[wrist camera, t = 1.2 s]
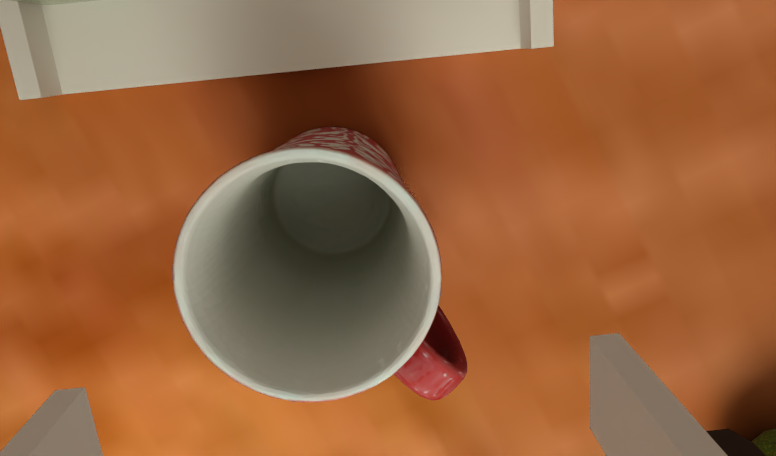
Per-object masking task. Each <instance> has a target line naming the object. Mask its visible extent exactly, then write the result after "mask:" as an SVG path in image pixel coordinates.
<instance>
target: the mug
mask: <svg viewBox="0 0 776 456" xmlns="http://www.w3.org/2000/svg"><path fill="white" fill-rule="evenodd" d="M172 280H173V285H174V294H175V298H176V303H177V306H178V309H179V312H180V315H181V318H182V320H183V323H184V325H185V327H186V329H187V330H188V332H189V334H190V336H191V338H192V339H193V341H194V342H195V343H196V345H197V346H198V347H199V349H200V350H201V351H202V352H203V354H204V355H205V356H206V357H207V358H208V359H209V360H210V361H211V362H212V363H213V364H214V365H215V366H216V367H217V368H218V369H220V370H221V371H222V372H223V373H225V374H226V375H227V376H229V377H230V378H232V379H233V380H235V381H236V382H238V383H240V384H242V385H243V386H245V387H247V388H250V389H252V390H254V391H256V392H259V393H261V394H264V395H267V396H270V397H273V398H278V399H283V400H288V401H292V402H325V401H332V400H338V399H342V398H346V397H350V396H353V395H355V394H358V393H361V392H363V391H365V390H367V389H370V388H372V387H374V386H376V385H378V384H379V383H381V382H383V381H384V380H386V379H387V378H389V377H390V376H391V375H393V374H394V375H395V376H396V377H397V378H398V379H400V380H401V381H402V383H404V384H405V385H406V386H407V387H408V388H410V389H411V390H412V391H414V392H415V393H417V394H418V395H420V396H422V397H424V398H426V399H429V400H439V399H441V398H443V397H445V396H447V395H448V394H449V393H450V392H451V391H453V390H454V389H455V388H456V387H457V386H458V384H459V383H460V382H461V381H462V380H463V379H464V377H465V375H466V373H467V361H466V357H465V354H464V351H463V349H462V346H461V344H460V341H459V339H458V338H457V336H456V334H455V332H454V330H453V328H452V326H451V324H450V323H449V321H448V319H447V318H446V316H445V315H444V313H443V311H442V310H441V308H440V307H439V301H440V295H441V287H442V266H441V257H440V252H439V248H438V244H437V240H436V237H435V234H434V231H433V229H432V226H431V224H430V222H429V220H428V218H427V216H426V214H425V212H424V211H423V209H422V208H421V207H420V205H419V204H418V202H417V201H416V199H415V198H414V197H413V196H412V194H411V193H410V192H409V191H408V190H407V189H406V187H405V186H404V183H403V181H402V179H401V177H400V175H399V174H398V171H397V168H396V167H395V164H394V163H393V161H392V160H391V158H390V157H389V156H388V154H387V153H386V152H385V151H384V150H383V149H382V147H381V146H379V145H378V144H377V143H376V142H375V141H374V140H372V139H371V138H369V137H368V136H366V135H364V134H362V133H359V132H357V131H354V130H351V129H347V128H342V127H320V128H316V129H312V130H309V131H306V132H303V133H301V134H299V135H297V136H295V137H293V138H292V139H290V140H289V141H288V142H286V143H284V144H282V145H281V146H279V147H277V148H276V149H274V150H272V151H269V152H266V153H263V154H260V155H257V156H254V157H252V158H249V159H247V160H245V161H243V162H241V163H239V164H238V165H236V166H234V167H233V168H231V169H229V170H228V171H226V172H225V173H224V174H222V175H220V176H219V177H218V178H217V179H216V180H215V181H214V182H212V183H211V184H210V185H209V186H208V187H207V189H206V190H205V191H204V192H203V193H202V194H201V196H200V197H199V198H198V199H197V201H196V202H195V203H194V205H193V206H192V208H191V209H190V211H189V213H188V215H187V217H186V219H185V221H184V223H183V225H182V228H181V230H180V233H179V235H178V239H177V242H176V246H175V252H174V259H173V268H172Z"/></svg>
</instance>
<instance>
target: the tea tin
mask: <svg viewBox="0 0 776 456" xmlns="http://www.w3.org/2000/svg"><path fill="white" fill-rule="evenodd" d="M10 1H17V2H25V3H33V4H41V5H56V4H66V3H77V2H87V1H97V0H10Z"/></svg>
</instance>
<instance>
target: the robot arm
mask: <svg viewBox="0 0 776 456" xmlns="http://www.w3.org/2000/svg"><path fill="white" fill-rule="evenodd" d="M590 429H591V431H592V432H593V434H594V436H595V437H596V439H597V441H598V442H599V444H600V446H601V448H602V449H603V451H604V453H605V454H606V456H766V455H765V454H764V453H763V452H762V451H761V450H760V449H759V448H758V447H757V446H756V445H755V444H754V443H753V442H751V441H749V440H748V439H746V438H744V437H742V436H741V435H739V434H737V433H736V432H734V431H732V430H730V429H723V430H713V431H705V430H704V428H703V427H702V426H701V425H700V424H699V423H698V422H697V421H696V419H695V418H694V417H693V416H692V415H691V414H690V413H689V412H688V410H687V409H686V408H685V407H684V406H683V405H682V404H681V403H680V401H679V400H678V399H677V398H676V397H675V396H674V395H673V394H672V392H671V391H670V390H669V389H668V388H667V387H666V386H665V384H664V383H663V382H662V381H661V380H660V379H659V378H658V377H657V375H656V374H655V373H654V372H653V371H652V370H651V369H650V368H649V366H648V365H647V364H646V363H645V362H644V361H643V360H642V359H641V357H640V356H639V355H638V354H637V353H636V352H635V351H634V350H633V348H632V347H631V346H630V345H629V344H628V343H627V342H626V341H625V339H624V338H623V337H622V336H621V335H620V334H619V333H616V334H606V335H596V336H590ZM0 456H103V454H102V451H101V447H100V443H99V439H98V435H97V431H96V428H95V424H94V420H93V416H92V412H91V408H90V405H89V401H88V397H87V393H86V389H85V387H84V388H74V389H64V390H55V391H54V392H53V394H52V395H51V396H50V397H49V398H48V399H47V400H46V401H45V402H44V404H43V405H42V406H41V407H40V408H39V409H38V410H37V411H36V412H35V414H34V415H33V416H32V417H31V418H30V419H29V420H28V421H27V423H26V424H25V425H24V426H23V427H22V428H21V429H20V430H19V431H18V433H17V434H16V435H15V436H14V437H13V438H12V439H11V440H10V441H9V443H8V444H7V445H6V446H5V447H4V448H3V449H2V450H1V451H0Z"/></svg>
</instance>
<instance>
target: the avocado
mask: <svg viewBox="0 0 776 456" xmlns="http://www.w3.org/2000/svg"><path fill="white" fill-rule="evenodd" d="M751 442H753V443H754V444H755V445H756V446H757V447H758V448H759V449H760V450H761V451H762V452H763V453H764V454H765V455H766V456H776V428H775V429H771V430H767V431H764V432H763V433H761V434H760V435H759V436H757V437H756V438H755V439H753V440H752V441H751Z"/></svg>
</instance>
